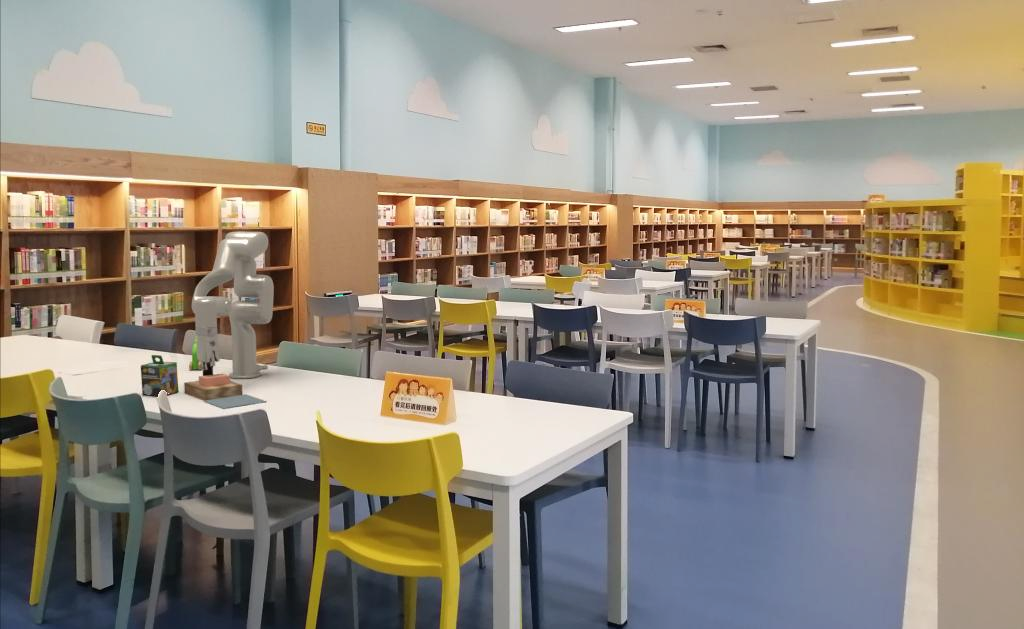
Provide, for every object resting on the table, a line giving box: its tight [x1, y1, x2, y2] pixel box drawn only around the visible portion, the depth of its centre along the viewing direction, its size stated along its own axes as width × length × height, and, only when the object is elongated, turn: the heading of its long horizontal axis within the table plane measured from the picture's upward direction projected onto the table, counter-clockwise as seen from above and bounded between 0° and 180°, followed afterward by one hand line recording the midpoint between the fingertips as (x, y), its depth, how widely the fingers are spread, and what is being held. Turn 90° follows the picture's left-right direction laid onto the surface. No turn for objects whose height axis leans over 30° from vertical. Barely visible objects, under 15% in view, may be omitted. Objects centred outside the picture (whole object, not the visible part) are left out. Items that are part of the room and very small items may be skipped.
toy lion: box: [188, 335, 203, 371], centre depth 350 cm, size 16×5×15 cm, turn 6°
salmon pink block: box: [198, 373, 231, 387], centre depth 295 cm, size 9×6×3 cm, turn 134°
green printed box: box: [140, 354, 179, 397], centre depth 296 cm, size 9×9×15 cm
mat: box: [202, 393, 264, 410], centre depth 284 cm, size 16×16×1 cm
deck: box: [183, 380, 243, 401], centre depth 296 cm, size 14×18×4 cm
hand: (208, 379), depth 298 cm, fingers closed
